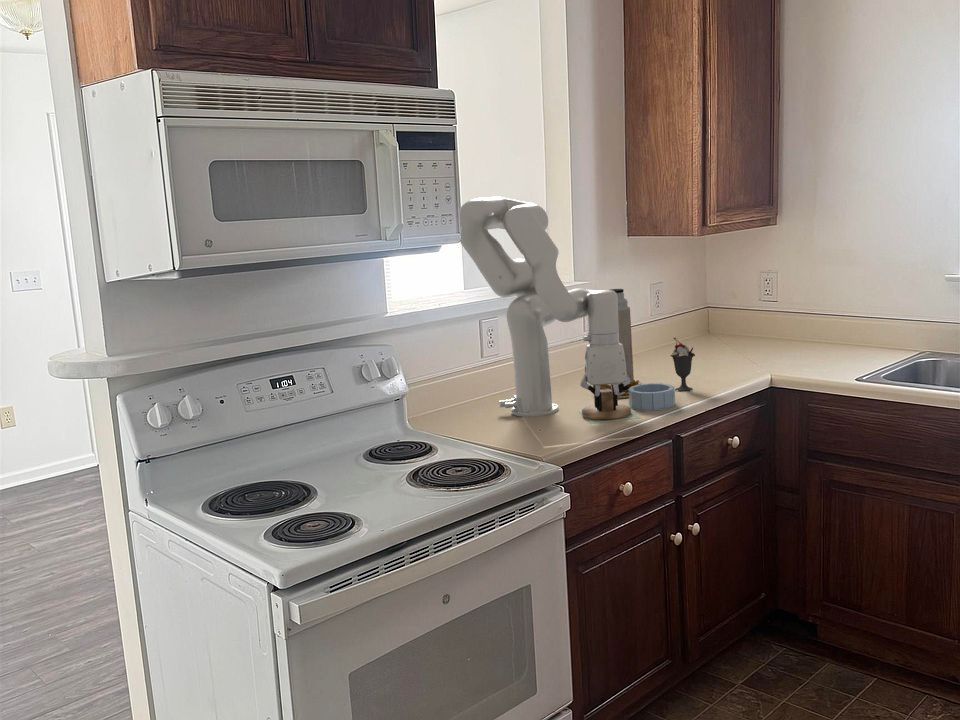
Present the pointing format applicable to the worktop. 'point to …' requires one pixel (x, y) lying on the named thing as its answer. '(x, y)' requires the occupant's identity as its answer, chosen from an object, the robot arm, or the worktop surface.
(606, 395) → the lid
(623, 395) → the toy sandwich meal
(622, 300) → the thermos bottle
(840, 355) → the worktop surface
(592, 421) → the mat
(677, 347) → the sundae
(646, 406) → the bowl
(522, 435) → the worktop surface
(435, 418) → the worktop surface
